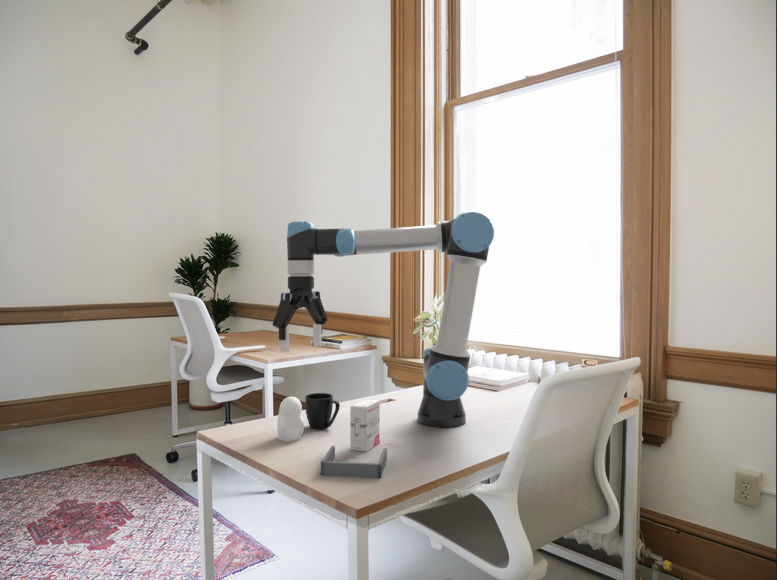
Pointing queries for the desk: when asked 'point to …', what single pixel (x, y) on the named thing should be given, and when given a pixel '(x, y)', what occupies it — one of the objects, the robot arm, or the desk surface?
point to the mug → (320, 410)
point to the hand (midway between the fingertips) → (301, 348)
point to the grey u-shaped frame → (352, 466)
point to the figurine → (290, 420)
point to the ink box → (364, 425)
